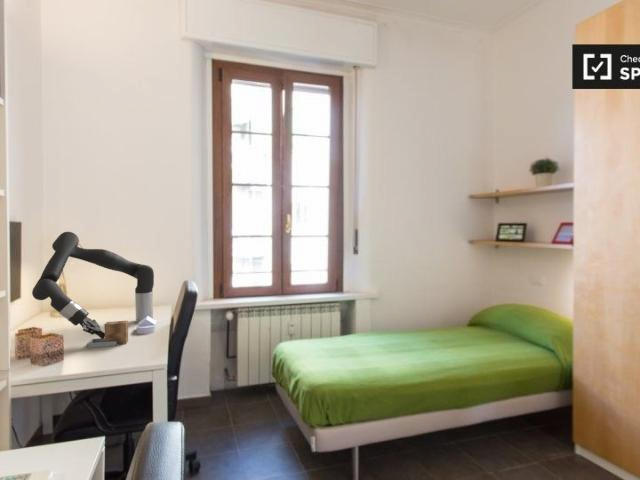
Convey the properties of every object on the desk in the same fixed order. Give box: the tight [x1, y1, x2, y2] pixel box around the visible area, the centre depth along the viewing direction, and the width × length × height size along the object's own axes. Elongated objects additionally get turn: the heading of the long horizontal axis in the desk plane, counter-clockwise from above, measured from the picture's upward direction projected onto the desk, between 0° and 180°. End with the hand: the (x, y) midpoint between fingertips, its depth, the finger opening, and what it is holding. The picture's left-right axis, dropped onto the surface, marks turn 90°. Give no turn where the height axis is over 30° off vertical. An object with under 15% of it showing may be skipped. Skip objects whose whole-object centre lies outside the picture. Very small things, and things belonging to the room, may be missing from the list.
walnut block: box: [104, 320, 129, 345], centre depth 180 cm, size 9×5×10 cm, turn 107°
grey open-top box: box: [86, 337, 118, 349], centre depth 178 cm, size 12×8×2 cm, turn 107°
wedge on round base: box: [136, 316, 157, 335], centre depth 201 cm, size 9×7×13 cm
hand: (104, 337), depth 178 cm, fingers closed
